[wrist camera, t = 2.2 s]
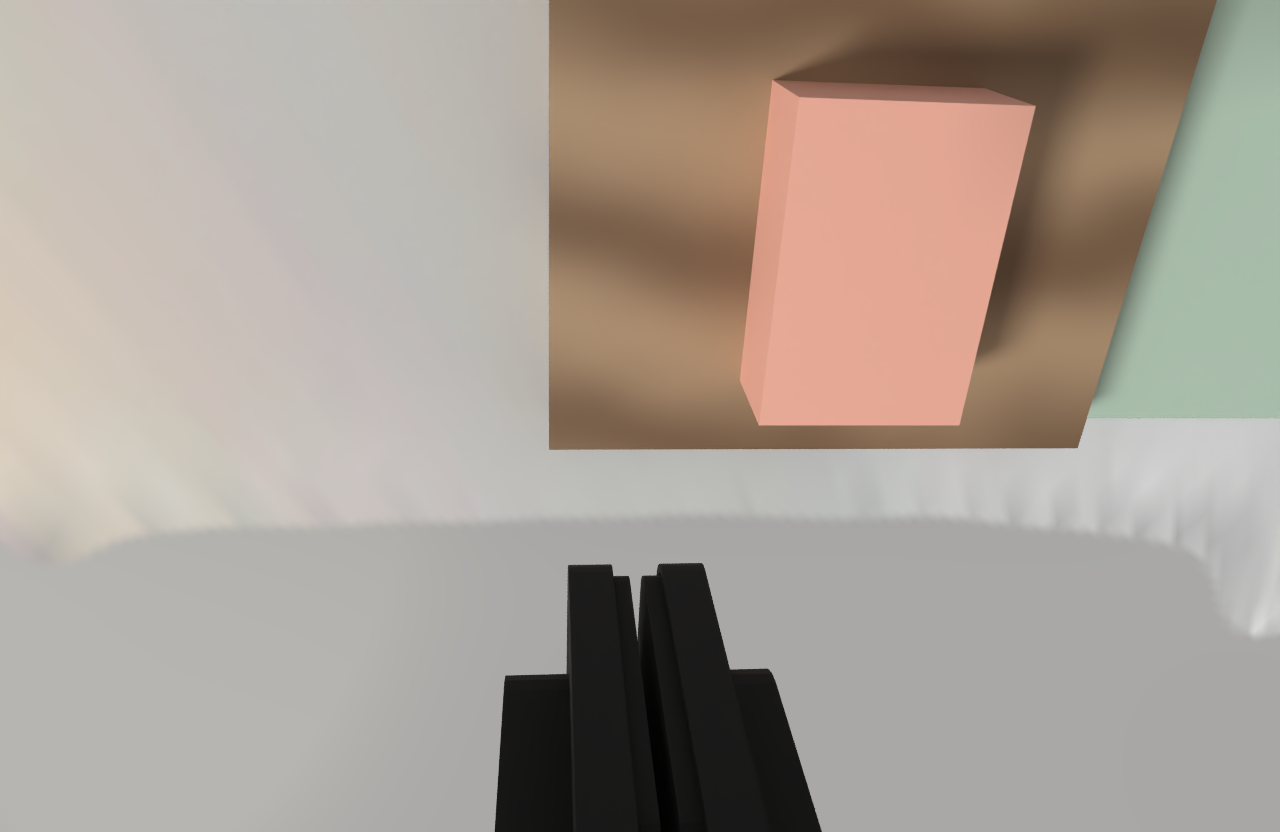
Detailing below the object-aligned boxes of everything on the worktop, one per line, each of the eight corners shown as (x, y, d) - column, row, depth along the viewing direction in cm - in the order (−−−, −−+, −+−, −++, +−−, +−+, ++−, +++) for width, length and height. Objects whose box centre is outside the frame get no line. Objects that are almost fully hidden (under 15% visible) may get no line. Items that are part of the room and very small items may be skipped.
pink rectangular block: (772, 80, 25) (799, 97, 22) (984, 88, 25) (1035, 105, 22) (739, 380, 29) (759, 425, 26) (922, 381, 29) (959, 425, 27)
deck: (549, -37, 25) (549, -35, 23) (1162, -7, 27) (1216, -1, 25) (549, 413, 31) (549, 449, 29) (1042, 414, 33) (1077, 447, 31)
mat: (1189, -44, 26) (1195, -43, 26) (1528, -25, 27) (1538, -25, 27) (1055, 414, 33) (1059, 418, 33) (1330, 414, 34) (1336, 418, 34)
